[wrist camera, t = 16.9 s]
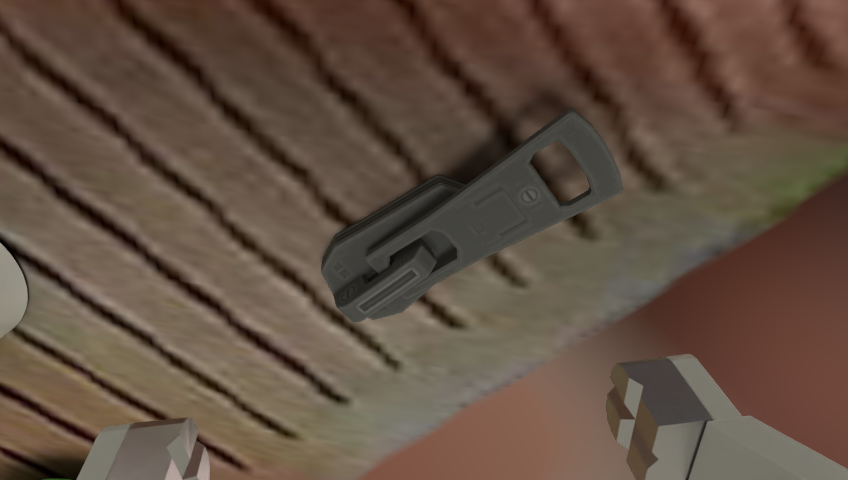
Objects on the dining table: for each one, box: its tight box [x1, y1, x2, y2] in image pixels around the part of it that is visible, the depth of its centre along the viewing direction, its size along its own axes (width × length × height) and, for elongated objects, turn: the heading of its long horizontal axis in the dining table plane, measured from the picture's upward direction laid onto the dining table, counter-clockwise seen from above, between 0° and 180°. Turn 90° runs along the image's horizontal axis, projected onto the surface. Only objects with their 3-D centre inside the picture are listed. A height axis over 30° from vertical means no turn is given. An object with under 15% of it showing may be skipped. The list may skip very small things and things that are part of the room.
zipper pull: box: [321, 109, 623, 322], centre depth 44 cm, size 9×7×25 cm
